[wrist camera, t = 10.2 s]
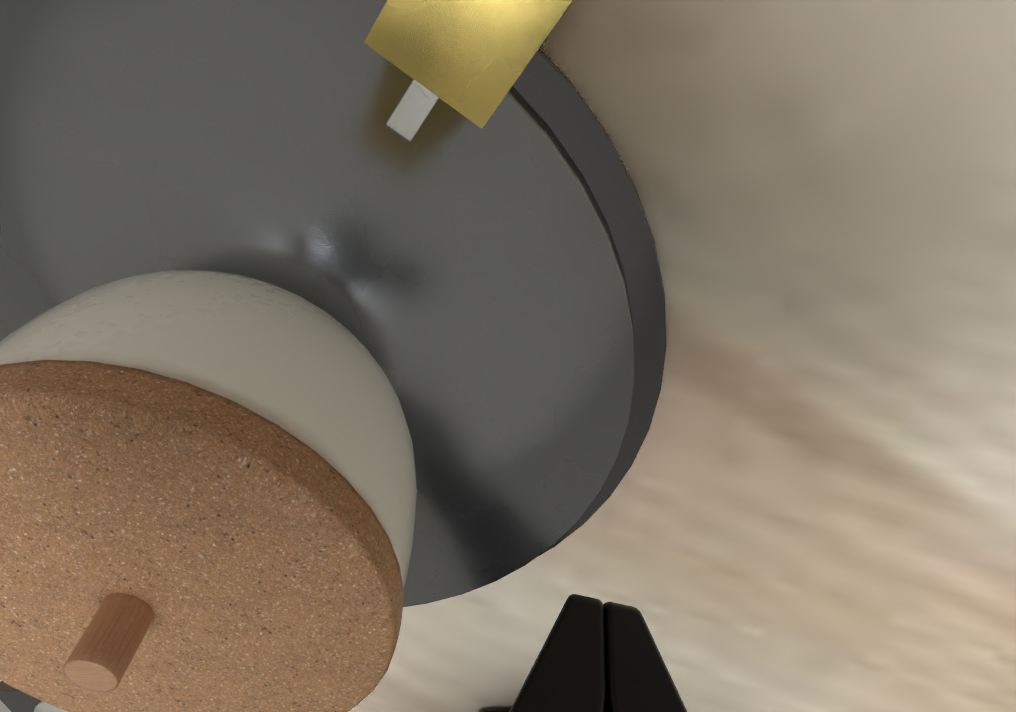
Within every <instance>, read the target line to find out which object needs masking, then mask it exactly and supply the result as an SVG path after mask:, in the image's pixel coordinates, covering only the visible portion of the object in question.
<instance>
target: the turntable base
mask: <svg viewBox="0 0 1016 712" xmlns="http://www.w3.org/2000/svg"><path fill="white" fill-rule="evenodd" d="M513 87H514V88H515V89H516V90H517V91H518V92H519V93H520V94H521V96H522V97H523V98H524V99H525V100H526V101H527V102H528V103H529V104H530V105H531V107H532V108H533V109H534V110H535V111H536V112H537V113H538V114H539V115H540V117H541V118H542V119H543V120H544V121H545V122H546V123H547V124H548V125H549V127H550V128H551V129H552V131H553V132H554V134H555V135H556V136H557V138H558V139H559V141H560V142H561V144H562V145H563V147H564V148H565V150H566V151H567V152H568V154H569V155H570V157H571V158H572V160H573V161H574V163H575V164H576V165H577V167H578V168H579V170H580V171H581V173H582V174H583V176H584V178H585V180H586V182H587V184H588V185H589V187H590V189H591V191H592V193H593V195H594V197H595V199H596V201H597V203H598V205H599V207H600V209H601V211H602V213H603V215H604V217H605V219H606V221H607V223H608V225H609V228H610V231H611V234H612V237H613V240H614V243H615V246H616V249H617V252H618V255H619V258H620V260H621V263H622V266H623V269H624V272H625V277H626V283H627V288H628V294H629V299H630V305H631V310H632V316H633V340H634V386H633V393H632V400H631V407H630V414H629V421H628V425H627V428H626V431H625V434H624V437H623V440H622V443H621V447H620V450H619V453H618V456H617V459H616V461H615V463H614V465H613V467H612V469H611V471H610V472H609V474H608V476H607V478H606V480H605V482H604V484H603V486H602V488H601V490H600V492H599V493H598V494H597V496H596V497H595V498H594V500H593V501H592V503H591V504H590V505H589V507H588V508H587V509H586V511H585V512H584V513H583V515H582V516H581V517H580V519H579V520H578V521H577V522H576V523H575V524H574V525H573V526H572V527H571V528H570V529H569V530H568V531H567V532H566V533H565V534H564V535H563V536H562V537H561V538H560V539H559V540H558V541H557V542H556V543H555V544H554V545H552V546H551V547H549V548H548V549H547V550H545V551H544V552H546V551H548V550H549V549H551V548H553V547H555V546H556V545H557V544H559V543H560V542H561V541H562V540H564V539H565V538H566V537H567V536H569V535H570V534H571V533H573V532H574V531H575V530H576V529H578V528H579V527H580V526H582V525H583V524H584V523H585V522H586V521H587V520H588V519H589V518H590V517H591V516H592V515H593V514H594V513H595V512H596V511H597V509H598V508H599V507H600V506H601V505H602V504H603V503H604V502H605V501H606V500H607V499H608V498H609V497H610V496H611V494H612V493H613V491H614V490H615V488H616V487H617V486H618V484H619V483H620V481H621V480H622V478H623V477H624V476H625V474H626V473H627V471H628V470H629V468H630V467H631V466H632V463H633V461H634V459H635V457H636V455H637V453H638V451H639V449H640V447H641V445H642V443H643V441H644V439H645V437H646V435H647V432H648V430H649V427H650V424H651V421H652V417H653V414H654V410H655V407H656V404H657V400H658V397H659V394H660V390H661V383H662V375H663V367H664V359H665V351H666V327H665V299H664V289H663V284H662V278H661V273H660V268H659V263H658V258H657V252H656V247H655V242H654V239H653V236H652V233H651V230H650V227H649V224H648V222H647V219H646V216H645V213H644V210H643V207H642V205H641V202H640V199H639V196H638V193H637V190H636V188H635V186H634V184H633V182H632V180H631V178H630V176H629V174H628V172H627V171H626V169H625V167H624V165H623V163H622V161H621V159H620V157H619V155H618V153H617V151H616V149H615V147H614V146H613V144H612V142H611V140H610V138H609V136H608V134H607V133H606V132H605V130H604V129H603V127H602V126H601V124H600V123H599V122H598V120H597V119H596V117H595V116H594V115H593V113H592V112H591V110H590V109H589V107H588V106H587V105H586V103H585V102H584V100H583V99H582V98H581V96H580V95H579V93H578V92H577V90H576V89H575V88H574V86H573V85H572V83H571V82H570V81H569V80H568V79H567V78H566V77H565V76H564V75H563V74H562V73H561V71H560V70H559V69H558V68H557V67H556V66H555V65H554V64H553V63H552V62H551V61H550V60H549V59H548V57H547V56H546V55H545V54H544V53H543V52H542V51H541V50H540V49H538V50H537V52H536V53H535V54H534V56H533V57H532V59H531V60H530V62H529V63H528V64H527V66H526V67H525V69H524V70H523V72H522V73H521V74H520V76H519V77H518V79H517V80H516V81H515V83H514V84H513ZM544 552H543V553H544ZM543 553H541V554H543ZM541 554H540V555H541ZM538 556H539V555H538Z"/></svg>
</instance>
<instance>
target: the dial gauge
mask: <svg viewBox="0 0 1016 712" xmlns="http://www.w3.org/2000/svg"><path fill="white" fill-rule="evenodd" d="M0 700H1V701H2V702H3V703H4V704H5V705H6V706H7V707H8V708H9V709H10V710H11V711H12V712H67V711H65V710H62V709H60V708H57V707H55V706H53V705H50V704H48V703H45V702H43V701H41V700H39V699H37V698H35V697H32V696H30V695H28V694H26V693H24V692H22V691H20V690H18V689H16V688H13V687H11V686H10V685H8V684H6V683H5V682H3V681H1V682H0Z"/></svg>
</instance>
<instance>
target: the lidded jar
mask: <svg viewBox="0 0 1016 712" xmlns="http://www.w3.org/2000/svg"><path fill="white" fill-rule="evenodd" d="M416 494H417V487H416V472H415V460H414V452H413V444H412V439H411V436H410V432H409V429H408V426H407V422H406V419H405V416H404V413H403V410H402V407H401V404H400V401H399V399H398V397H397V395H396V393H395V391H394V389H393V387H392V385H391V383H390V382H389V380H388V378H387V376H386V375H385V373H384V372H383V370H382V369H381V367H380V366H379V364H378V363H377V362H376V360H375V359H374V358H373V356H372V355H371V354H370V352H369V351H368V350H367V348H366V347H365V346H364V345H363V344H362V343H361V342H360V341H359V340H358V339H357V338H356V337H355V336H354V335H353V334H352V333H351V332H350V331H349V330H348V329H347V328H346V327H345V326H344V325H342V324H341V323H340V322H338V321H337V320H336V319H334V318H333V317H332V316H331V315H329V314H328V313H327V312H325V311H324V310H322V309H321V308H319V307H317V306H316V305H314V304H312V303H311V302H309V301H307V300H305V299H304V298H302V297H300V296H298V295H296V294H294V293H292V292H289V291H287V290H285V289H282V288H280V287H278V286H275V285H273V284H270V283H267V282H263V281H260V280H257V279H253V278H250V277H246V276H242V275H236V274H230V273H223V272H217V271H190V270H170V271H162V272H154V273H146V274H141V275H137V276H133V277H128V278H124V279H120V280H117V281H114V282H110V283H107V284H104V285H101V286H97V287H94V288H92V289H90V290H88V291H85V292H83V293H81V294H79V295H77V296H75V297H73V298H71V299H69V300H67V301H65V302H63V303H61V304H59V305H57V306H55V307H53V308H51V309H50V310H48V311H46V312H44V313H42V314H40V315H39V316H37V317H35V318H34V319H32V320H31V321H29V322H28V323H26V324H25V325H23V326H22V327H20V328H19V329H17V330H15V331H14V332H12V333H11V334H9V335H8V336H7V337H5V338H4V339H3V340H2V341H0V680H1V681H3V682H5V683H6V684H8V685H10V686H11V687H13V688H16V689H18V690H20V691H22V692H24V693H26V694H28V695H30V696H32V697H35V698H37V699H39V700H41V701H43V702H45V703H48V704H50V705H53V706H55V707H57V708H60V709H62V710H65V711H67V712H348V711H349V710H351V709H352V708H354V707H355V706H356V705H357V704H358V703H360V702H361V701H362V700H363V699H364V698H365V697H366V696H367V695H369V694H370V693H371V692H372V691H373V690H374V689H375V687H376V686H377V685H378V683H379V682H380V680H381V679H382V677H383V676H384V674H385V673H386V672H387V670H388V667H389V664H390V661H391V659H392V656H393V653H394V650H395V647H396V643H397V639H398V635H399V630H400V626H401V618H402V608H403V596H404V590H403V589H404V585H405V581H406V577H407V571H408V566H409V561H410V555H411V550H412V544H413V533H414V522H415V508H416Z"/></svg>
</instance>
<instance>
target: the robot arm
mask: <svg viewBox="0 0 1016 712" xmlns="http://www.w3.org/2000/svg"><path fill="white" fill-rule="evenodd" d="M485 712H687V710H686V708H685V706H684V704H683V702H682V700H681V698H680V695H679V693H678V691H677V689H676V687H675V685H674V683H673V680H672V678H671V676H670V674H669V672H668V670H667V668H666V665H665V663H664V661H663V659H662V657H661V655H660V653H659V650H658V648H657V646H656V644H655V642H654V640H653V638H652V635H651V633H650V631H649V629H648V627H647V625H646V622H645V620H644V618H643V616H642V614H641V612H640V611H639V610H638V609H637V608H635V607H632V606H627V605H623V604H618V603H613V602H607V603H605V604H604V605H603V603H602V602H601V601H600V600H598V599H595V598H590V597H585V596H581V595H576V594H572V595H570V596H569V597H568V599H567V600H566V602H565V604H564V606H563V608H562V610H561V612H560V614H559V616H558V618H557V620H556V622H555V624H554V626H553V628H552V630H551V632H550V634H549V636H548V638H547V640H546V641H545V643H544V645H543V647H542V649H541V651H540V653H539V655H538V657H537V659H536V661H535V663H534V665H533V667H532V669H531V671H530V673H529V675H528V677H527V679H526V681H525V683H524V685H523V687H522V689H521V690H520V692H519V694H518V696H517V698H516V700H515V702H514V704H513V706H512V708H511V710H510V711H485Z"/></svg>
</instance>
